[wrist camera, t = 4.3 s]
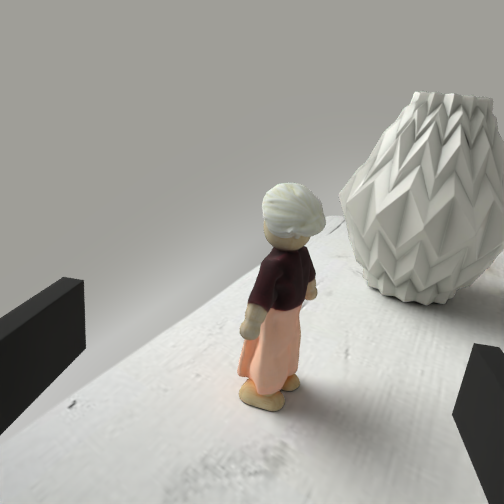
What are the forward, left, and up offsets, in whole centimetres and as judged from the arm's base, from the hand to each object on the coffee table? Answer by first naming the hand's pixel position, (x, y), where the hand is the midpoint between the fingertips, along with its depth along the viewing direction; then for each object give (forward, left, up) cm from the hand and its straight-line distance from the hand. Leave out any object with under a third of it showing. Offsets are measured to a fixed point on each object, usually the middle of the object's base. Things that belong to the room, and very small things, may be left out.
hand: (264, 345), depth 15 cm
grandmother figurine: (+5, +8, -9) cm, 13 cm away
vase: (+25, +20, -9) cm, 33 cm away
